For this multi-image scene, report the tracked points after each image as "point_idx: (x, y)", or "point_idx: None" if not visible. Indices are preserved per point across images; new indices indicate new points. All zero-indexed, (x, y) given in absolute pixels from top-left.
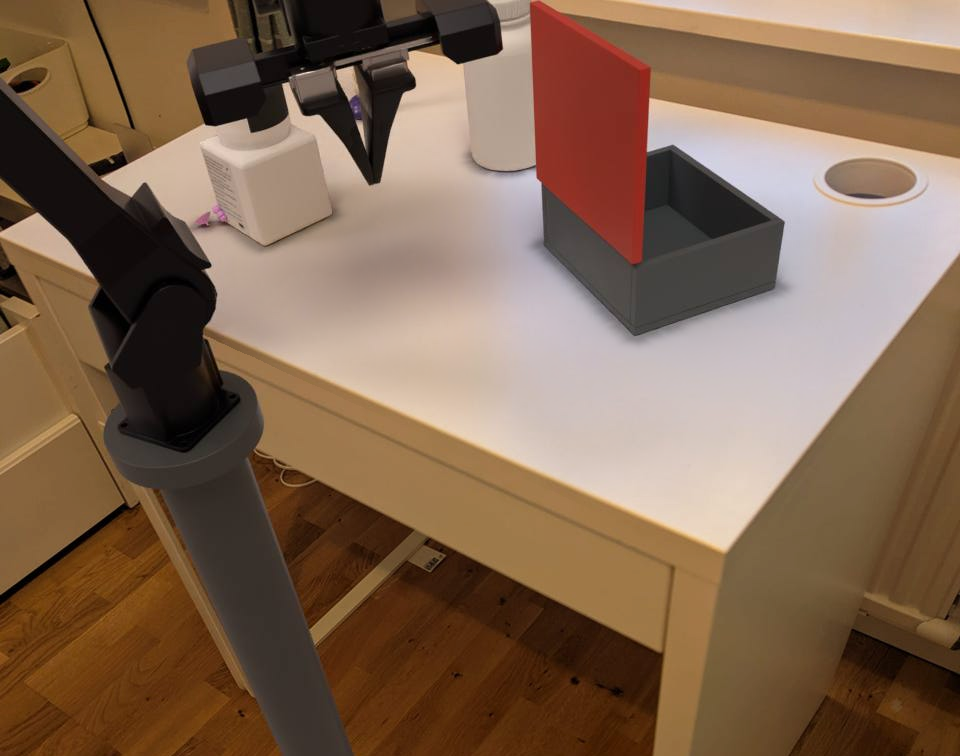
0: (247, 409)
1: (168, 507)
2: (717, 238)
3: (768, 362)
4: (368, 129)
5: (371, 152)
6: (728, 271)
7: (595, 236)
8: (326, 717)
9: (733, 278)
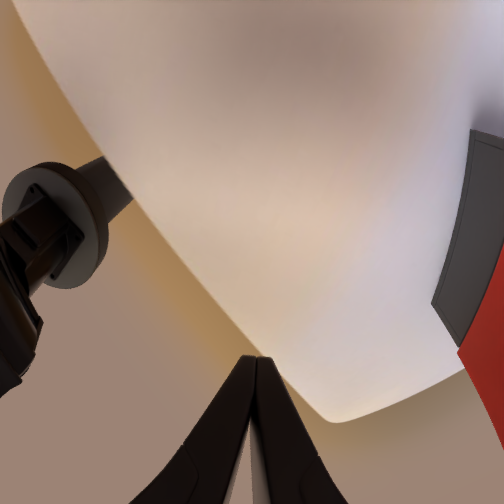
0: (91, 252)
1: None
2: None
3: (454, 350)
4: (257, 501)
5: (251, 462)
6: None
7: (485, 280)
8: None
9: None
